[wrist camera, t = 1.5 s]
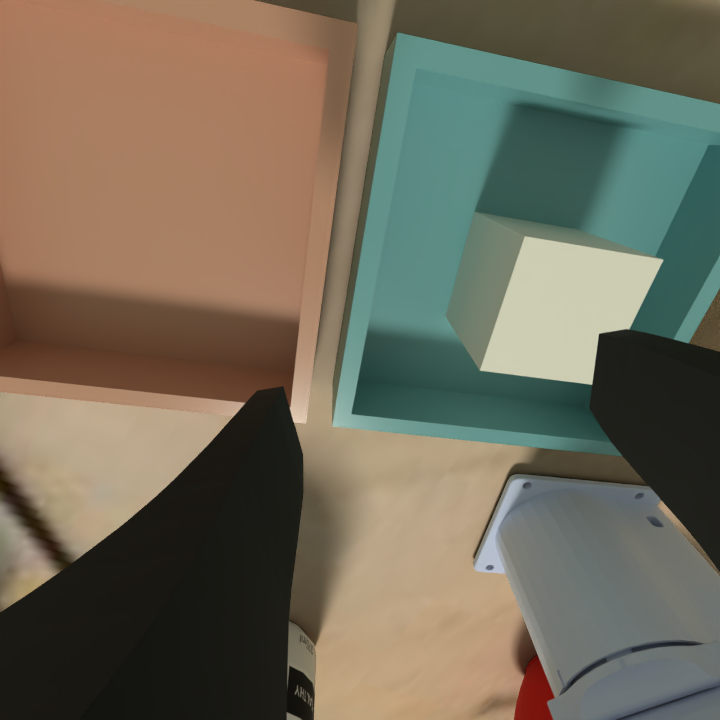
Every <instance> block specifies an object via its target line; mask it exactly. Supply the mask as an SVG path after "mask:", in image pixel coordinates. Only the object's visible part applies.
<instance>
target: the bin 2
mask: <svg viewBox="0 0 720 720" xmlns="http://www.w3.org/2000/svg"><path fill="white" fill-rule="evenodd" d="M474 212H480V213H486V214H491V215H497V216H503V217H509V218H515V219H520V220H526V221H532V222H538V223H543V224H549V225H555V226H561V227H566V228H572V229H578V230H581V231H584V232H587V233H590V234H593V235H595V236H598V237H601V238H604V239H607V240H609V241H612V242H615V243H618V244H621V245H624V246H626V247H629V248H632V249H635V250H638V251H641V252H643V253H646V254H649V255H652V256H655V257H657V258H660V259H663V262H662V264H661V266H660V268H659V270H658V272H657V274H656V276H655V278H654V280H653V282H652V284H651V286H650V288H649V290H648V292H647V294H646V296H645V298H644V300H643V302H642V304H641V306H640V309H639V311H638V313H637V315H636V317H635V319H634V321H633V323H632V325H631V327H630V329H629V330H635V331H641V332H646V333H650V334H654V335H658V336H662V337H666V338H670V339H674V340H678V341H681V342H685V343H689V341H690V340H691V338H692V336H693V334H694V333H695V331H696V329H697V327H698V326H699V324H700V322H701V320H702V319H703V317H704V315H705V313H706V312H707V310H708V308H709V306H710V305H711V303H712V301H713V299H714V298H715V296H716V294H717V292H718V291H719V289H720V104H717V103H713V102H708V101H704V100H699V99H695V98H690V97H686V96H681V95H677V94H672V93H668V92H663V91H659V90H654V89H650V88H645V87H641V86H636V85H632V84H627V83H623V82H618V81H614V80H609V79H605V78H600V77H596V76H591V75H587V74H582V73H578V72H573V71H569V70H564V69H560V68H555V67H551V66H547V65H542V64H538V63H533V62H529V61H524V60H520V59H515V58H511V57H506V56H502V55H497V54H493V53H488V52H484V51H479V50H475V49H470V48H466V47H461V46H457V45H452V44H448V43H443V42H439V41H434V40H430V39H425V38H421V37H416V36H412V35H407V34H403V33H397V34H396V36H395V38H394V40H393V42H392V43H391V45H390V47H389V49H388V50H387V52H386V54H385V56H384V62H383V68H382V75H381V81H380V87H379V94H378V100H377V106H376V113H375V119H374V125H373V132H372V138H371V144H370V151H369V157H368V163H367V170H366V176H365V182H364V189H363V195H362V201H361V208H360V214H359V220H358V227H357V233H356V239H355V246H354V252H353V258H352V265H351V271H350V277H349V284H348V290H347V296H346V303H345V309H344V315H343V322H342V328H341V334H340V341H339V347H338V353H337V360H336V366H335V372H334V379H333V400H332V426H334V427H344V428H353V429H363V430H373V431H382V432H392V433H402V434H411V435H421V436H430V437H440V438H450V439H459V440H469V441H479V442H488V443H498V444H507V445H517V446H527V447H536V448H546V449H556V450H565V451H575V452H584V453H594V454H604V455H613V456H622V455H621V453H620V452H619V451H618V450H617V449H616V448H615V446H614V445H613V444H612V443H611V441H610V440H609V438H608V437H607V435H606V434H605V432H604V431H603V429H602V428H601V426H600V425H599V423H598V422H597V420H596V418H595V417H594V415H593V413H592V412H591V410H590V409H589V405H590V398H591V390H592V385H591V384H583V383H575V382H567V381H559V380H551V379H543V378H535V377H527V376H519V375H511V374H503V373H495V372H487V371H480V370H479V368H478V367H477V365H476V364H475V362H474V361H473V359H472V357H471V356H470V354H469V353H468V351H467V350H466V348H465V346H464V345H463V343H462V342H461V340H460V339H459V337H458V335H457V334H456V332H455V331H454V329H453V328H452V326H451V324H450V323H449V321H448V320H447V318H446V317H445V316H446V313H447V309H448V306H449V302H450V298H451V295H452V291H453V287H454V284H455V280H456V276H457V273H458V269H459V266H460V262H461V258H462V255H463V251H464V247H465V244H466V240H467V236H468V233H469V229H470V226H471V222H472V218H473V215H474Z"/></svg>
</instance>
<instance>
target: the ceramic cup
mask: <svg viewBox="0 0 720 720" xmlns="http://www.w3.org/2000/svg"><path fill="white" fill-rule="evenodd" d="M525 673H526V674H525V677H524V679H523V682H522V685H521V688H520V692H519V696H518V699H517V704H516V709H515V717H514V720H553V718H552V715H551V712H550V710H549V707H548V704H547V702H548V701H549V700H551V699H554V698H555V697H554V694H553V692H552V689H551V687H550V684H549V682H548V679H547V677H546V674H545V672H544V669H543V667H542V664H541V662H540V659H539V657H538V655H537V656H535V657H534V658H533V659H532V660H531V661H530V662H529V664H528V665H527V667H526V671H525Z"/></svg>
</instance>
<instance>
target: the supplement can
mask: <svg viewBox="0 0 720 720" xmlns="http://www.w3.org/2000/svg"><path fill="white" fill-rule="evenodd" d="M315 673H316V652H315V645H314V644H313V642H312V641H311V640H310V639H309V637H308V636H307V635H306V634H305V633H304V632H303V630H302V629H301V628H300V627H299V626H297V625H296V624H294V623H292V622H290V621H289V636H288V670H287V720H314V699H315Z"/></svg>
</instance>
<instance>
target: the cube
mask: <svg viewBox="0 0 720 720" xmlns="http://www.w3.org/2000/svg"><path fill="white" fill-rule="evenodd" d="M662 262H663V259H660V258H657V257H655V256H652V255H649V254H646V253H643V252H641V251H638V250H635V249H632V248H629V247H626V246H624V245H621V244H618V243H615V242H612V241H609V240H607V239H604V238H601V237H598V236H595V235H593V234H590V233H587V232H584V231H581V230H578V229H572V228H566V227H561V226H555V225H549V224H543V223H538V222H532V221H526V220H520V219H515V218H509V217H503V216H497V215H491V214H486V213H480V212H474V215H473V218H472V222H471V226H470V229H469V233H468V236H467V240H466V244H465V247H464V251H463V255H462V258H461V262H460V266H459V269H458V273H457V276H456V280H455V284H454V287H453V291H452V295H451V298H450V302H449V306H448V309H447V313H446V316H445V317H446V318H447V320H448V321H449V323H450V324H451V326H452V328H453V329H454V331H455V332H456V334H457V335H458V337H459V339H460V340H461V342H462V343H463V345H464V346H465V348H466V350H467V351H468V353H469V354H470V356H471V357H472V359H473V361H474V362H475V364H476V365H477V367H478V368H479V370H480V371H487V372H495V373H503V374H511V375H519V376H527V377H535V378H543V379H551V380H559V381H567V382H575V383H583V384H591V385H592V383H593V375H594V368H595V360H596V353H597V345H598V337H599V334H600V333H606V332H612V331H618V330H624V329H630V327H631V325H632V323H633V321H634V319H635V317H636V315H637V313H638V311H639V309H640V306H641V304H642V302H643V300H644V298H645V296H646V294H647V292H648V290H649V288H650V286H651V284H652V282H653V280H654V278H655V276H656V274H657V272H658V270H659V268H660V266H661V264H662Z"/></svg>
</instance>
